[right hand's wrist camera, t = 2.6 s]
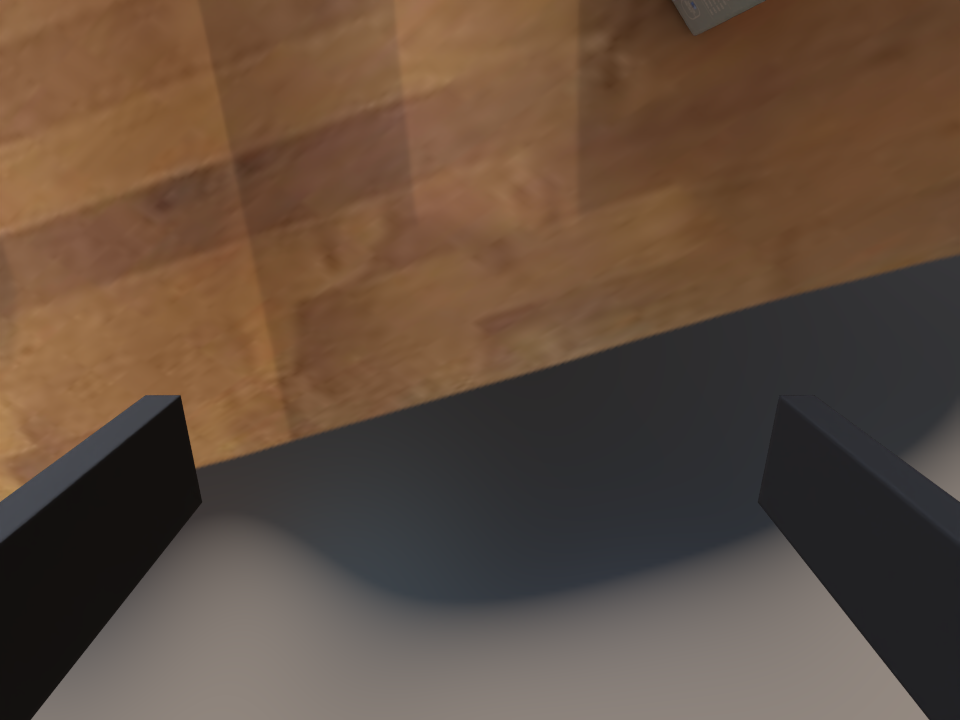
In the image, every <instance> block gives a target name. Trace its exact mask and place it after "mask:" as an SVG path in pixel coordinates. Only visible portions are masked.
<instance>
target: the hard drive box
mask: <svg viewBox="0 0 960 720" xmlns="http://www.w3.org/2000/svg"><path fill="white" fill-rule="evenodd" d="M672 1H673V3H674V5H675V6H676V8H677V10H678V11H679V13H680V15H681V16H682V18H683V20H684V21H685V23H686V25H687V26H688V28H689V30H690V31H691V33H692V34H693V35H695V36H696V35H698V34H700V33H702V32H704V31H706V30H708V29H711V28H713V27H715V26H717V25H719V24H721V23H723V22H725V21H727V20H729V19H730V18H732V17H734V16H736V15H738V14H740V13H742V12H744V11H746V10H748V9H750V8H752V7H754V6H756V5H758V4H760V3H762V2H764V1H765V0H672Z"/></svg>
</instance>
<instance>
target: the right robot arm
mask: <svg viewBox="0 0 960 720" xmlns="http://www.w3.org/2000/svg"><path fill="white" fill-rule="evenodd" d="M201 503H202V499H201V494H200V489H199V484H198V479H197V474H196V470H195V465H194V460H193V455H192V450H191V445H190V440H189V435H188V430H187V425H186V420H185V415H184V410H183V405H182V400H181V395H145V396H144V397H143V398H141V399H140V400H139V401H137V402H136V403H135V404H133V405H132V406H130V407H129V408H128V409H126V410H125V411H124V412H122V413H121V414H120V415H118V416H117V417H115V418H114V419H113V420H111V421H110V422H109V423H107V424H106V425H105V426H103V427H102V428H100V429H99V430H98V431H96V432H95V433H94V434H92V435H91V436H90V437H88V438H87V439H85V440H84V441H83V442H81V443H80V444H79V445H77V446H76V447H75V448H73V449H72V450H71V451H69V452H68V453H66V454H65V455H64V456H62V457H61V458H60V459H58V460H57V461H56V462H54V463H53V464H51V465H50V466H49V467H47V468H46V469H45V470H43V471H42V472H41V473H39V474H38V475H36V476H35V477H34V478H32V479H31V480H30V481H28V482H27V483H26V484H24V485H23V486H22V487H20V488H19V489H17V490H16V491H15V492H13V493H12V494H11V495H9V496H8V497H7V498H5V499H4V500H2V501H1V502H0V720H31V719H32V717H33V716H34V715H35V714H36V712H37V711H38V710H39V709H40V707H41V706H42V705H43V703H44V702H45V701H46V700H47V698H48V697H49V696H50V695H51V693H52V692H53V691H54V689H55V688H56V687H57V686H58V684H59V683H60V682H61V681H62V679H63V678H64V677H65V676H66V674H67V673H68V672H69V670H70V669H71V668H72V667H73V665H74V664H75V663H76V662H77V660H78V659H79V658H80V656H81V655H82V654H83V653H84V651H85V650H86V649H87V648H88V646H89V645H90V644H91V643H92V641H93V640H94V639H95V637H96V636H97V635H98V634H99V632H100V631H101V630H102V629H103V627H104V626H105V625H106V624H107V622H108V621H109V620H110V618H111V617H112V616H113V615H114V613H115V612H116V611H117V610H118V608H119V607H120V606H121V604H122V603H123V602H124V601H125V599H126V598H127V597H128V596H129V594H130V593H131V592H132V591H133V589H134V588H135V587H136V585H137V584H138V583H139V582H140V580H141V579H142V578H143V577H144V575H145V574H146V573H147V572H148V570H149V569H150V568H151V566H152V565H153V564H154V563H155V561H156V560H157V559H158V558H159V556H160V555H161V554H162V552H163V551H164V550H165V549H166V547H167V546H168V545H169V544H170V542H171V541H172V540H173V538H174V537H175V536H176V535H177V533H178V532H179V531H180V530H181V528H182V527H183V526H184V525H185V523H186V522H187V521H188V520H189V518H190V517H191V516H192V514H193V513H194V512H195V511H196V509H197V508H198V507H199V506H200V504H201ZM758 503H759V504H760V506H761V507H762V508H763V509H764V511H765V512H766V513H767V514H768V516H769V517H770V518H771V520H772V521H773V522H774V523H775V525H776V526H777V527H778V528H779V530H780V531H781V532H782V533H783V535H784V536H785V537H786V539H787V540H788V541H789V542H790V543H791V545H792V546H793V547H794V549H795V550H796V551H797V552H798V554H799V555H800V556H801V558H802V559H803V560H804V561H805V563H806V564H807V565H808V566H809V568H810V569H811V570H812V571H813V573H814V574H815V575H816V577H817V578H818V579H819V580H820V582H821V583H822V584H823V585H824V587H825V588H826V589H827V591H828V592H829V593H830V594H831V596H832V597H833V598H834V599H835V601H836V602H837V603H838V604H839V606H840V607H841V608H842V610H843V611H844V612H845V613H846V615H847V616H848V617H849V618H850V620H851V621H852V622H853V624H854V625H855V626H856V627H857V629H858V630H859V631H860V632H861V634H862V635H863V636H864V637H865V639H866V640H867V641H868V643H869V644H870V645H871V646H872V648H873V649H874V650H875V651H876V653H877V654H878V655H879V657H880V658H881V659H882V660H883V662H884V663H885V664H886V665H887V667H888V668H889V669H890V670H891V672H892V673H893V674H894V676H895V677H896V678H897V679H898V681H899V682H900V683H901V684H902V686H903V687H904V688H905V689H906V691H907V692H908V693H909V695H910V696H911V697H912V698H913V700H914V701H915V702H916V703H917V705H918V706H919V707H920V708H921V710H922V711H923V712H924V714H925V715H926V716H927V717H928V719H929V720H960V502H959V501H958V500H956V499H955V498H953V497H952V496H951V495H949V494H948V493H947V492H945V491H944V490H943V489H941V488H940V487H938V486H937V485H936V484H934V483H933V482H932V481H930V480H929V479H928V478H926V477H925V476H923V475H922V474H921V473H919V472H918V471H917V470H915V469H914V468H913V467H911V466H910V465H909V464H907V463H906V462H904V461H903V460H902V459H900V458H899V457H898V456H896V455H895V454H894V453H892V452H891V451H889V450H888V449H887V448H885V447H884V446H883V445H881V444H880V443H879V442H877V441H876V440H874V439H873V438H872V437H870V436H869V435H868V434H866V433H865V432H863V431H862V430H861V429H859V428H858V427H857V426H855V425H854V424H853V423H851V422H850V421H849V420H847V419H846V418H844V417H843V416H842V415H840V414H839V413H838V412H836V411H835V410H834V409H832V408H831V407H830V406H828V405H827V404H825V403H824V402H823V401H821V400H820V399H819V398H817V397H816V396H815V395H780V396H779V400H778V405H777V410H776V415H775V420H774V425H773V430H772V435H771V440H770V445H769V450H768V455H767V460H766V465H765V470H764V474H763V480H762V484H761V489H760V494H759V499H758Z"/></svg>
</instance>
